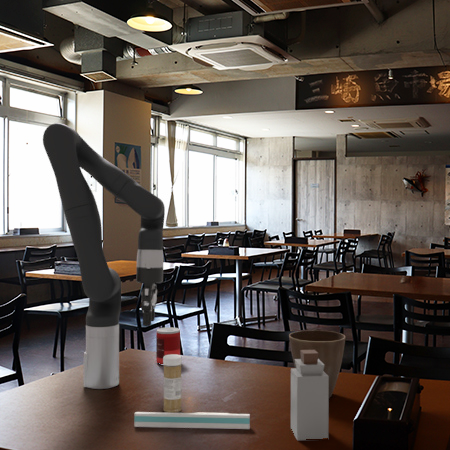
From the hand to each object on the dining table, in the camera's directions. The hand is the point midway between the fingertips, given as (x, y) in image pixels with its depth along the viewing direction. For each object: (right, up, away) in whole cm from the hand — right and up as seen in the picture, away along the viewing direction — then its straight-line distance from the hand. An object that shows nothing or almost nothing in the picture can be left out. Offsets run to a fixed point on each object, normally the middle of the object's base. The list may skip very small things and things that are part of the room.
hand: (148, 323), depth 152 cm
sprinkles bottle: (+9, -18, -19) cm, 28 cm away
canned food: (+3, -18, +26) cm, 32 cm away
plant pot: (+46, -18, -7) cm, 50 cm away
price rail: (+14, -18, -26) cm, 35 cm away
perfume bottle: (+40, -18, -34) cm, 55 cm away
